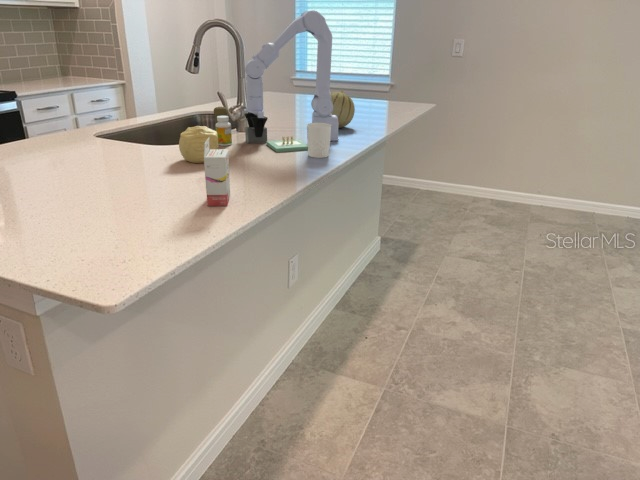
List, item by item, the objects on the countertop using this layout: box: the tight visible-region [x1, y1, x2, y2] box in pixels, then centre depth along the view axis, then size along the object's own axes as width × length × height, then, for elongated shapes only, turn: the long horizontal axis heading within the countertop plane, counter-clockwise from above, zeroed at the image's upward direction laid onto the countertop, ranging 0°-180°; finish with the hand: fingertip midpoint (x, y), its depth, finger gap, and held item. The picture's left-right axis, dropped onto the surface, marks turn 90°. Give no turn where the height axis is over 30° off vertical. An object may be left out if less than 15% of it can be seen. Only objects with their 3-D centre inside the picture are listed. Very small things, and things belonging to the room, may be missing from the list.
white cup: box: [306, 122, 331, 159], centre depth 161 cm, size 8×8×10 cm
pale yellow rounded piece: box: [178, 125, 219, 164], centre depth 152 cm, size 12×12×11 cm
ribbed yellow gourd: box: [330, 89, 356, 129], centre depth 205 cm, size 15×15×15 cm
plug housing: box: [244, 126, 268, 144], centre depth 179 cm, size 7×4×5 cm, turn 112°
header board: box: [265, 135, 308, 153], centre depth 172 cm, size 12×12×4 cm
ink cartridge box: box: [203, 138, 231, 207], centre depth 117 cm, size 9×5×15 cm, turn 5°
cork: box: [213, 106, 229, 131], centre depth 185 cm, size 6×6×11 cm
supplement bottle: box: [214, 115, 233, 147], centre depth 173 cm, size 5×5×10 cm
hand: (256, 135), depth 179 cm, fingers open, 7 cm apart
